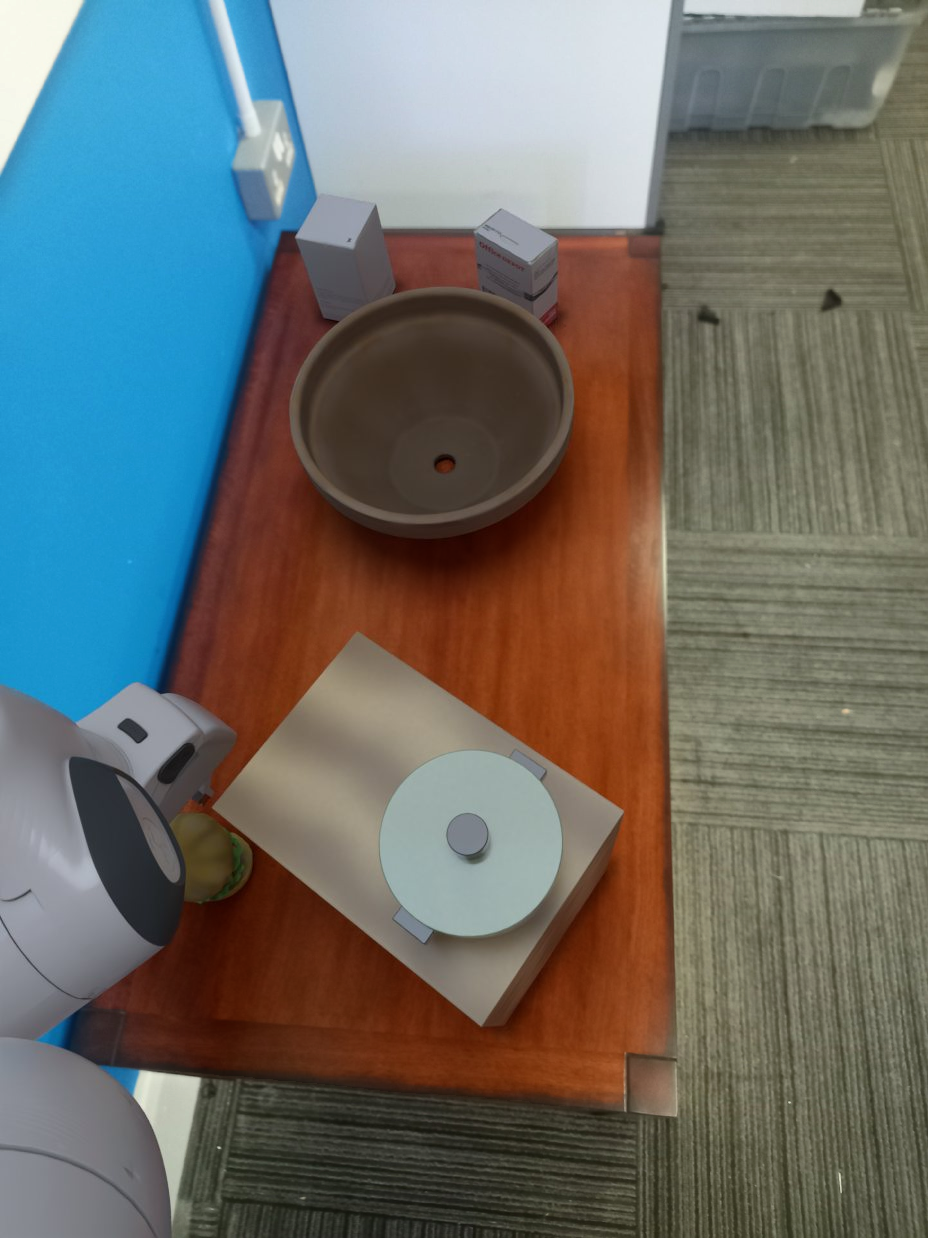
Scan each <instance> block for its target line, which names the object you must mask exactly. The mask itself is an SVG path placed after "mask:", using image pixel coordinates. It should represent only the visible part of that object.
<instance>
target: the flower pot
mask: <svg viewBox="0 0 928 1238" xmlns="http://www.w3.org/2000/svg"><path fill="white" fill-rule="evenodd" d="M574 387H575V386H574V380H573V374H572V370H571V366H570V363H569V361H568V359H567V356H566V354H565V351H564V349H563V347H562V345H561V343H560V342H559V341H558V339H557V338H556V336H555V335H554V334H553V333H552V331H551V330H550V329H549V328H548V327H546V326H545V325H544V324H543V323H542V322H541V321H540V320H539V319H538V318H536V317H535V316H534V315H532V314H531V313H530V312H528V311H527V310H525V309H524V308H522V307H521V306H519V305H517V304H515V303H513V302H511V301H509V300H507V299H505V298H502V297H500V296H496V295H493V294H490V293H487V292H483V291H480V290H479V289H473V288H469V287H461V286H430V287H422V288H421V287H420V288H415V289H409V290H405V291H401V292H397V293H393V294H392V295H390V296H387V297H384V298H381V299H379V300H376V301H374V302H372V303H370V304H367V305H365V306H364V307H362V308H360V309H358V310H356V311H355V312H353V313H351V314H350V315H348V316H347V317H345V318H344V319H343V320H341V321H338V322H337V323H336V324H335V325H333V327H331V328H330V329H329V330H328V331H327V332H326V333H325V334H324V335H323V336H322V337H321V338H320V339H319V341H318V342H316V344H315V345H314V346H313V348H312V349H311V350H310V352H309V353H308V355H307V357H306V359H305V360H304V362H303V363H302V365H301V367H300V369H299V371H298V373H297V376H296V378H295V381H294V383H293V387H292V389H291V393H290V397H289V404H288V405H289V407H288V408H289V409H288V411H289V416H288V417H289V427H290V435H291V439H292V442H293V446H294V449H295V452H296V454H297V456H298V457H297V458H298V459H299V462H300V464H301V466H302V468H303V470H304V471H305V473H306V475H307V476H308V478H309V480H310V481H311V483H312V485H313V486H314V488H315V489H316V490H317V492H318V493H319V494H320V496H321V497H322V498H323V499H324V500H325V501H326V502H327V503H328V504H330V506H331V507H333V509H335V510H336V511H338V512H339V513H340V514H342V515H343V516H345V518H348V519H349V520H351V521H353V522H354V523H356V524H359V525H360V526H362V527H365V528H368V529H369V530H372V531H375V532H378V533H381V534H384V535H389V536H394V537H398V538H399V537H400V538H406V539H417V540H433V539H434V540H435V539H445V538H453V537H458V536H462V535H466V534H470V533H473V532H476V531H479V530H482V529H484V528H487V527H489V526H493V525H494V524H496V523H499V522H501V521H502V520H504V519H506V518H508V517H511V515H512V514H514V513H516V512H518V511H519V510H520V509H521V508H523V507H524V506H525V505H526V504H528V503H529V502H530V501H531V500H533V499H534V498H535V497H536V496H537V495H538V494H539V493H540V492H541V491H542V489H544V488H545V486H546V485H547V484H548V483H549V481H550V480H551V479H552V478H553V476H554V475H555V473H556V472H557V470H558V468H559V467H560V465H561V463H562V461H563V459H564V457H565V455H566V452H567V450H568V448H569V444H570V440H571V436H572V433H573V424H574V414H575V389H574ZM445 458H447V459H451V460H452V461H453V462H454V463H455V465H454V466H453V469H451V470H450V471H447V472H440V471H438V470H437V469H436V464H437V463H438V461H440V460H442V459H445Z"/></svg>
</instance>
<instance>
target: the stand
mask: <svg viewBox="0 0 928 1238" xmlns="http://www.w3.org/2000/svg"><path fill="white" fill-rule="evenodd" d="M515 749H517V750H518V751H520V752H521V753H522V754H524V755H525V756H527V757H528V758H530V759H531V760H533V761H534V762H536V763H537V764H539V765H540V766H542V767H543V768H545V769H546V770H547V776H546V777H545V779H544V780H543V781H542V783H543V785H544V786H545V787H546V789H547V790H548V792H549V794H550V795H551V797H552V799H553V801H554V803H555V805H556V808H557V810H558V813H559V817H560V821H561V825H562V833H563V853H562V860H561V865H560V869H559V872H558V875H557V878H556V880H555V883H554V885H553V887H552V889H551V890H550V893H549V895H548V897H547V899H546V901H545V902H544V904H543V906H542V907H541V908H540V909H539V911H538V912H537V913H536V914H535V915H534V916H533V917H532V918H531V919H530V920H529V921H528V922H527V923H525V924H524V925H523V926H521V927H520V928H518V929H516V930H515V931H513V932H511V933H508V934H506V935H503V936H500V937H496V938H492V939H482V940H479V939H467V938H460V937H455V936H449V935H446V934H443V933H440V932H436V933H435V935H434V936H433V938H432V939H431V941H430V942H429V943H428V945H427V946H426V945H424V944H423V943H421V942H420V941H419V940H418V939H416V938H415V937H414V936H413V935H411V934H410V933H409V932H408V931H406V930H405V929H404V928H403V927H401V926H400V925H399V924H398V923H396V922H395V921H394V920H393V919H392V918H393V917H394V915H395V914H396V913H397V911H398V910H399V909H400V907H401V905H400V904H399V903H398V901H397V900H396V899H395V897H394V895H393V894H392V892H391V891H390V889H389V887H388V884H387V882H386V880H385V877H384V874H383V871H382V868H381V863H380V857H379V833H380V827H381V822H382V818H383V815H384V812H385V810H386V807H387V805H388V803H389V801H390V799H391V797H392V795H393V794H394V792H395V791H396V789H397V788H398V786H399V785H400V784H401V783H402V782H403V781H404V779H405V778H406V777H407V776H408V775H410V774H411V773H412V772H413V771H414V770H415V769H417V768H418V767H419V766H421V765H422V764H424V763H426V762H427V761H429V760H431V759H433V758H435V757H438V756H440V755H443V754H446V753H450V752H454V751H460V750H484V751H491V752H494V753H498V754H501V755H504V756H506V757H510V755H511V754H512V752H513V751H514V750H515ZM211 809H212V810H213V811H214V812H216V813H217V814H218V815H219V816H221V817H222V818H223V819H224V820H226V821H227V822H228V823H229V824H230V825H232V826H233V827H234V828H235V829H237V830H238V831H239V832H240V833H241V834H242V835H244V836H245V837H247V838H248V839H249V840H250V841H251V842H253V843H254V844H255V845H256V846H258V848H260V849H262V851H264V852H265V853H266V854H267V855H268V856H269V857H271V858H272V859H273V860H275V861H276V862H277V863H278V864H280V865H281V866H282V867H283V868H284V869H286V870H287V871H288V872H289V873H290V874H292V875H293V876H295V878H297V879H298V880H299V881H300V882H302V883H303V884H304V885H305V886H307V887H308V888H309V889H310V890H312V891H313V892H314V893H315V894H316V895H318V896H319V897H320V898H321V899H322V900H324V901H325V902H326V903H328V904H329V905H330V906H331V907H333V908H334V910H336V911H338V912H339V913H340V914H341V915H342V916H344V917H345V918H346V919H347V920H349V922H351V923H352V924H353V925H354V926H356V927H357V928H358V929H360V930H361V932H363V933H365V934H366V935H367V936H368V937H369V938H370V939H372V940H373V941H374V942H375V943H377V944H378V945H379V946H380V947H382V948H383V949H384V950H386V952H388V953H389V954H390V955H391V956H393V957H394V958H395V959H396V960H398V961H399V962H400V963H401V964H402V965H404V966H405V967H406V968H408V970H410V971H411V972H413V973H414V974H415V975H416V976H417V977H418V978H420V979H421V980H422V981H423V982H424V983H426V984H427V985H428V986H430V987H431V988H432V989H433V990H435V991H436V992H437V993H438V994H440V995H441V996H442V997H443V998H444V999H446V1000H447V1001H448V1002H449V1003H451V1004H452V1006H454V1007H455V1008H457V1009H458V1010H459V1011H460V1012H461V1013H463V1014H464V1015H465V1016H467V1017H468V1018H469V1019H470V1020H471V1021H473V1022H474V1023H475V1024H476V1025H478V1026H479V1027H480V1028H485V1027H488V1028H489V1027H504V1026H505V1025H506V1024H507V1022H508V1021H509V1019H510V1017H511V1016H512V1015H513V1013H514V1011H515V1010H516V1008H517V1007H518V1005H519V1004H520V1002H521V1001H522V999H523V998H524V996H525V995H526V993H527V992H528V991H529V989H530V988H531V985H532V984H533V983H534V981H535V980H536V978H537V977H538V975H539V973H540V972H541V970H542V969H543V968H544V966H545V964H546V963H547V961H548V960H549V959H550V957H551V955H552V954H553V952H554V951H555V949H556V947H557V946H558V944H559V943H560V941H561V940H562V939H563V937H564V936H565V934H566V932H567V931H568V929H569V928H570V926H571V925H572V923H573V922H574V920H575V919H576V917H577V915H578V914H579V913H580V911H581V909H582V908H583V906H584V905H585V904H586V902H587V900H588V899H589V898H590V896H591V894H592V893H593V891H594V890H595V888H596V887H597V885H598V883H599V882H600V881H601V879H602V877H603V876H604V874H605V873H606V872H607V870H608V868H609V864H610V861H611V857H612V854H613V852H614V851H613V850H614V847H615V844H616V840H617V838H618V834H619V831H620V828H621V824H622V821H623V818H624V815H625V812H626V811H625V810H624V809H622V808H621V807H619V806H618V805H616V804H615V803H614V802H612V801H611V800H609V799H608V798H606V797H605V796H603V795H602V794H600V793H599V792H597V791H596V790H594V789H593V788H591V786H590V787H589V786H588V785H587V784H585V783H584V782H583V781H581V780H580V779H578V778H577V777H576V776H573V775H571V774H570V773H569V772H567V771H566V770H565V769H563V768H561V767H560V766H559V765H558V764H556V763H554V762H553V761H551V760H549V759H548V758H546V757H545V756H543V754H541V753H540V752H538V751H537V750H535V749H534V748H532V747H530V746H529V745H528V744H526V743H524V742H523V741H522V740H520V739H518V738H517V737H516V736H514V735H512V734H511V733H510V732H508V731H507V730H505V729H504V728H503V727H500V726H499V725H498V724H496V723H495V722H493V720H490V719H489V718H488V717H486V716H485V715H483V714H481V713H480V712H478V711H477V710H476V709H474V708H473V707H471V706H469V705H468V704H467V703H465V702H464V701H462V700H461V699H460V698H459V697H456V696H455V695H453V694H452V693H450V692H449V691H447V690H446V689H444V688H443V687H442V686H440V685H438V684H437V683H435V682H434V681H432V680H431V679H430V678H428V677H426V676H425V675H424V674H422V673H420V672H419V671H418V670H416V669H415V668H413V667H412V666H410V665H409V664H407V663H406V662H404V661H403V660H401V659H400V658H399V657H397V656H396V655H394V654H392V653H391V652H390V651H388V650H387V649H385V648H384V647H382V646H381V645H379V644H377V642H374V640H372V639H371V638H369V637H367V636H366V635H364V634H363V633H362V632H360V631H358V630H356V631H355V632H354V634H353V635H352V636H351V638H350V639H349V640H348V641H347V642H346V643H345V645H344V646H343V647H342V648H341V650H340V651H339V652H338V653H337V654H336V655H335V657H334V658H333V659H332V661H330V663H329V664H328V665H327V667H326V668H325V669H324V670H323V672H322V673H321V674H320V675H319V676H318V678H317V679H316V680H315V681H314V682H313V684H312V685H311V686H310V687H309V688H308V690H307V691H306V692H305V694H303V696H302V697H301V698H300V700H298V702H297V703H296V704H295V705H294V707H292V709H291V710H290V711H289V713H288V714H287V715H286V716H285V717H284V719H283V720H282V721H281V722H280V724H279V725H277V727H276V728H275V730H274V731H273V732H272V733H271V734H270V736H268V737H267V739H266V741H265V742H264V743H263V744H262V746H260V748H259V749H258V750H257V751H256V752H255V754H254V755H253V757H252V758H251V759H250V760H249V761H248V762H247V764H246V765H245V766H244V768H242V770H241V771H239V774H238V775H237V776H236V777H235V778H234V780H232V781H231V782H230V784H229V786H228V787H226V789H225V790H224V791H223V793H222V794H221V796H220V797H218V799H217V800H216V801H215V802H214V803H213V805H212V806H211Z"/></svg>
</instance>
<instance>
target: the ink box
mask: <svg viewBox="0 0 928 1238" xmlns="http://www.w3.org/2000/svg"><path fill="white" fill-rule="evenodd" d="M473 236H474V237H473V240H474V250H475V259H476V268H477V269H476V270H477V280H478V290H480V291H483V292H487V293H490V294H493V295H496V296H500V297H502V298H505V299H507V300H509V301H511V302H513V303H515V304H517V305H519V306H521V307H522V308H524V309H525V310H527V311H528V312H530V313H531V314H532V315H534V316H535V317H536V318H538V319H539V320H540V321H541V322H542V323H543V324H544V325H545V326H546V327H547V328H548V327H549V326H550V325H552V323H554V321H555V320H556V319H557V318H558V304H559V303H558V301H559V299H558V297H559V294H558V293H559V273H558V272H559V239H558V238H556V237H555V236H553V235H551V234H549V233H547V232H546V231H544V230H541V229H540V228H538V227H536V226H534V225H533V224H531V223H529V222H527V220H524V219H522V218H521V217H519V216H517V215H515V214H514V213H511V212H510V211H508V210H506V209H504V208H503V207H502V208H499V209H498V210H497V211H495V212H494V213H493V214H492V215H490V216H489V217H488V218H487V219H486V220H484V221H483V222H482V223H481V224H479V225H478V226H477V227H476V228H475V229H474V230H473Z"/></svg>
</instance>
